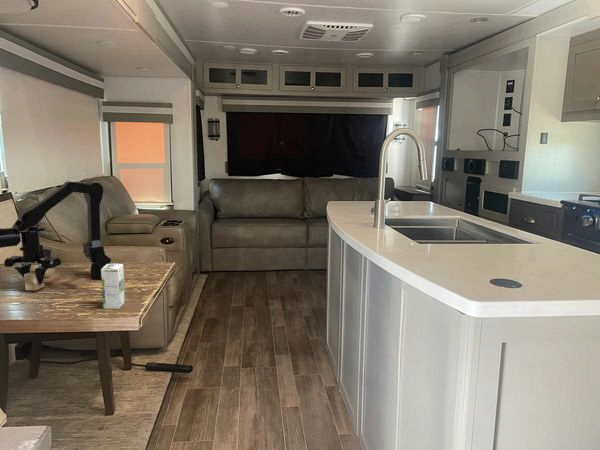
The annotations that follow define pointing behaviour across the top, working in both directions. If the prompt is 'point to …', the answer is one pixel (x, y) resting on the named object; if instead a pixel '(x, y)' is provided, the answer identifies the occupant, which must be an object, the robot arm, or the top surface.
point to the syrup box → (113, 286)
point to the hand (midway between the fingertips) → (34, 284)
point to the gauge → (35, 280)
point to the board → (63, 282)
